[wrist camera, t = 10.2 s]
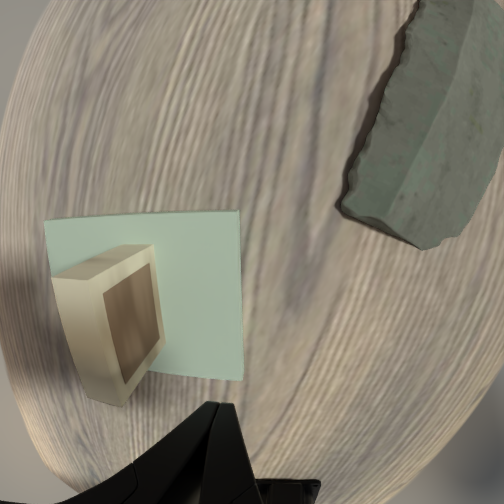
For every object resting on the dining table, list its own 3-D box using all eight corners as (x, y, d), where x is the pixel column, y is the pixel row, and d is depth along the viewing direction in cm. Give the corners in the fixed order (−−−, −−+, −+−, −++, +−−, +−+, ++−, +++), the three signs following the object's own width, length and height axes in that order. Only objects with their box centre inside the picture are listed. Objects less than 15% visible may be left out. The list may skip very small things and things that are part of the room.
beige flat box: (166, 343, 16) (123, 407, 10) (137, 339, 16) (87, 397, 11) (154, 244, 15) (88, 280, 9) (122, 244, 15) (51, 277, 9)
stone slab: (513, 45, 11) (428, -35, 9) (533, 40, 8) (444, -49, 6) (436, 272, 16) (317, 198, 15) (459, 288, 14) (331, 205, 12)
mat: (244, 371, 17) (242, 380, 16) (78, 347, 19) (72, 354, 18) (239, 209, 15) (236, 211, 14) (53, 218, 16) (43, 220, 15)
